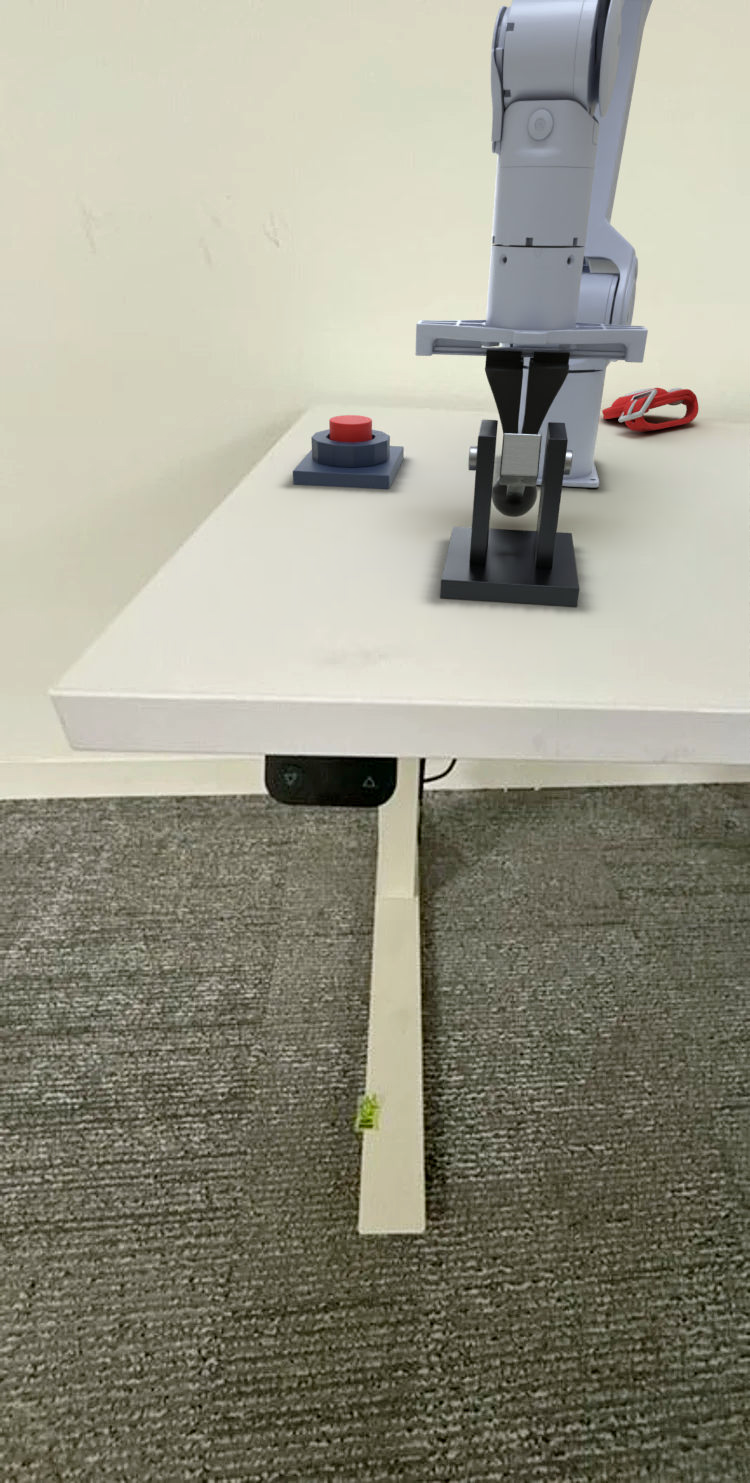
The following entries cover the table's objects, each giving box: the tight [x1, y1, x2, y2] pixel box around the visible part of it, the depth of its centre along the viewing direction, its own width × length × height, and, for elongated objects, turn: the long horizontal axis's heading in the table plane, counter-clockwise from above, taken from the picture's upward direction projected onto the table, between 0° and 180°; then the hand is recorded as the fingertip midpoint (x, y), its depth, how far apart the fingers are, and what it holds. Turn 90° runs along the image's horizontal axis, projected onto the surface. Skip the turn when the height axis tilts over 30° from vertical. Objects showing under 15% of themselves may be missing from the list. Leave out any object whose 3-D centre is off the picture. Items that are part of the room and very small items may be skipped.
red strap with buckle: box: [601, 387, 699, 433], centre depth 91 cm, size 12×4×10 cm
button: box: [328, 414, 373, 442], centre depth 73 cm, size 4×4×2 cm
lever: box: [491, 433, 542, 518], centre depth 56 cm, size 13×3×3 cm, turn 172°
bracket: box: [439, 419, 580, 608], centre depth 53 cm, size 10×8×9 cm
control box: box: [292, 428, 405, 490], centre depth 74 cm, size 10×8×3 cm
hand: (516, 470), depth 60 cm, fingers closed
